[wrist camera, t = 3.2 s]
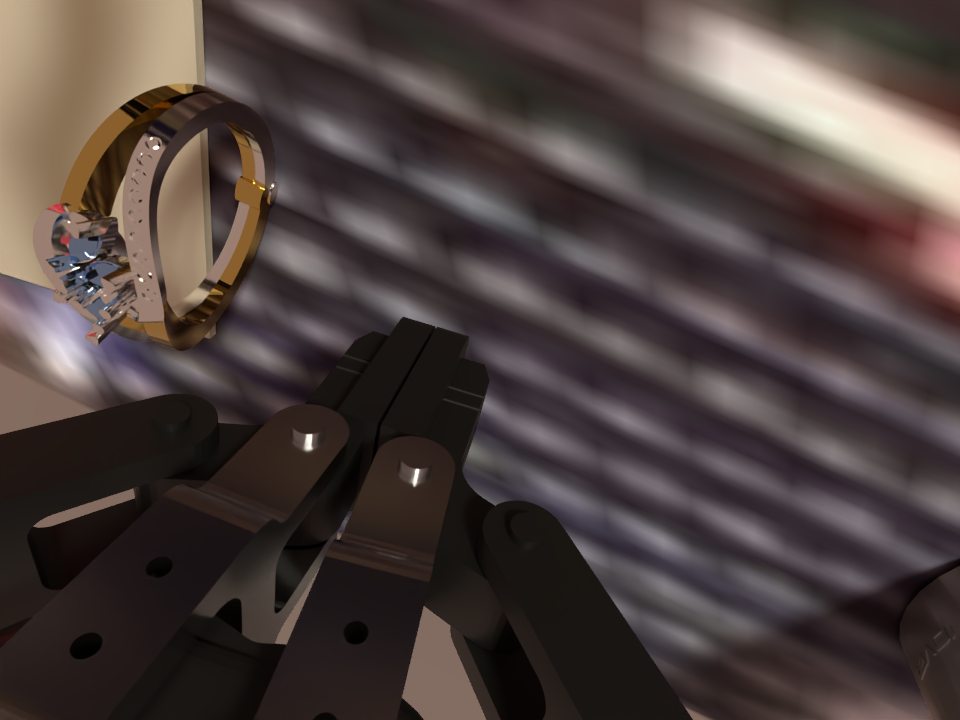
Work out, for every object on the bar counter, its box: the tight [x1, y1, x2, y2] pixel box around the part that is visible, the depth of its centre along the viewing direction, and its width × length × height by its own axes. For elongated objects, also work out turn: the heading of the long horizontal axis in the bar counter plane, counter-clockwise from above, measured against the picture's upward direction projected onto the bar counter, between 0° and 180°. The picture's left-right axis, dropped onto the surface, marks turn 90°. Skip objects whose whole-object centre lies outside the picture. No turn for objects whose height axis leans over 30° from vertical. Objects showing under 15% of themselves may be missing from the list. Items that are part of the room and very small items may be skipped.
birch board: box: [0, 0, 216, 339], centre depth 20 cm, size 9×13×1 cm
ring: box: [33, 83, 278, 351], centre depth 16 cm, size 7×3×8 cm, turn 159°
